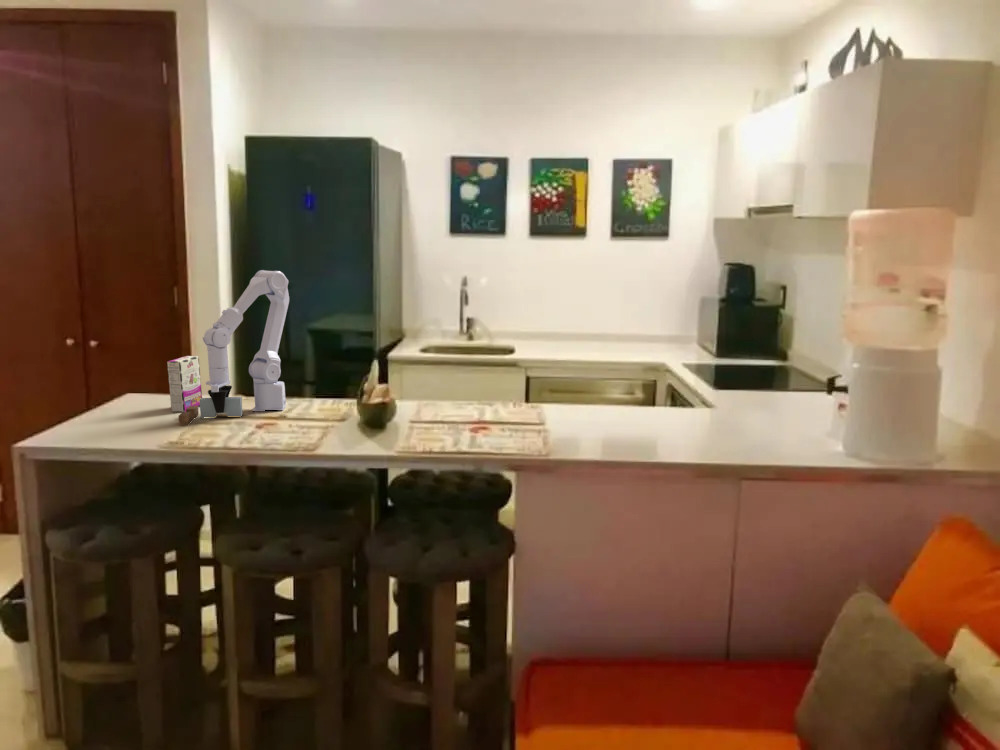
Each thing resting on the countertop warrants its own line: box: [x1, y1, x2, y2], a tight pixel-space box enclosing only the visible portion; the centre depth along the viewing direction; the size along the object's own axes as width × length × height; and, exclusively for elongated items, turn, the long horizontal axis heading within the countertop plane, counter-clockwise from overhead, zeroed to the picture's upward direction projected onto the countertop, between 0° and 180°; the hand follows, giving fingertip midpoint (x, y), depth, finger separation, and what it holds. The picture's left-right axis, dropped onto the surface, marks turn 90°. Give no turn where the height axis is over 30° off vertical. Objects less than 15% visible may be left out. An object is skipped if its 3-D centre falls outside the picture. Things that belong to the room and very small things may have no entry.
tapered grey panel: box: [199, 396, 243, 419], centre depth 264 cm, size 12×2×6 cm, turn 96°
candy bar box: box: [166, 355, 203, 413], centre depth 276 cm, size 11×5×16 cm, turn 168°
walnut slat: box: [178, 406, 200, 427], centre depth 260 cm, size 2×14×3 cm, turn 6°
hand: (221, 411), depth 264 cm, fingers open, 4 cm apart
